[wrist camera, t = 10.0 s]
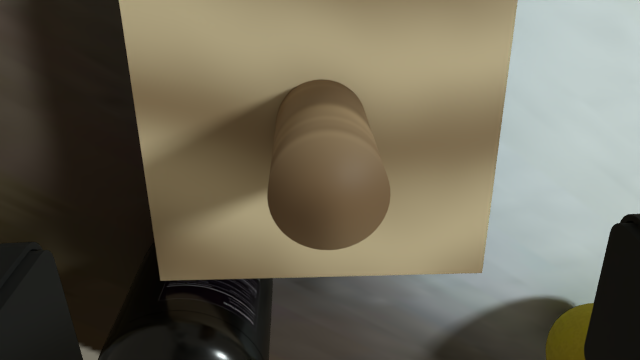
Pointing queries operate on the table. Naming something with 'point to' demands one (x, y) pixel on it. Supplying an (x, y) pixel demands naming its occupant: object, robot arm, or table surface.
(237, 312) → the supplement bottle
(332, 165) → the lid
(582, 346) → the lemon
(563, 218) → the table surface
